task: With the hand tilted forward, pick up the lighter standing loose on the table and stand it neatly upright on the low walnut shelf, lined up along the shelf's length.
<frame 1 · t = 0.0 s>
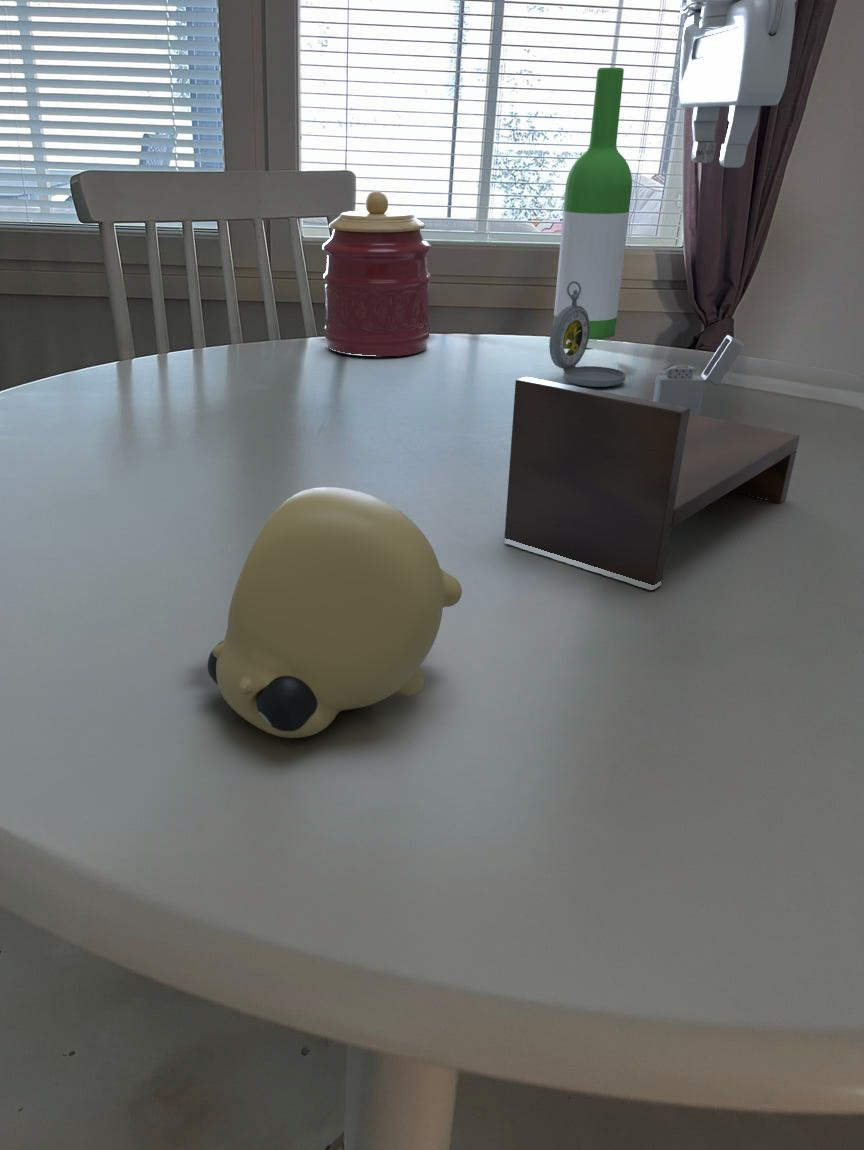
hand: (715, 165, 86), 21 cm above the table, tool pointing down, fingers open, 8 cm apart
toy pig: (332, 699, 46), on the table
lighter: (688, 425, 88), on the table
wine bottle: (582, 346, 119), on the table
pocket watch: (585, 382, 103), on the table
shelf: (656, 518, 67), on the table
kitchen canister: (377, 349, 117), on the table
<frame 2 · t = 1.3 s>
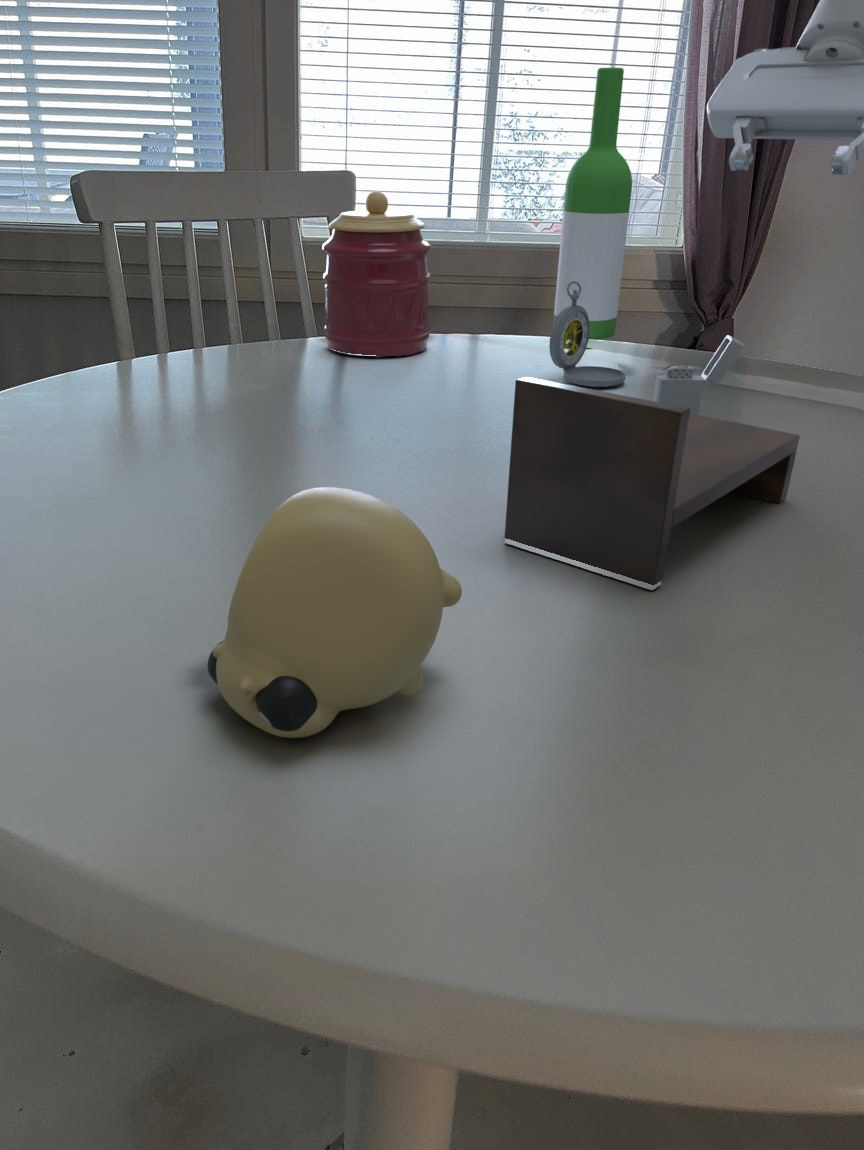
hand: (786, 167, 86), 21 cm above the table, tool tilted 45°, fingers open, 8 cm apart
nothing on the table moved.
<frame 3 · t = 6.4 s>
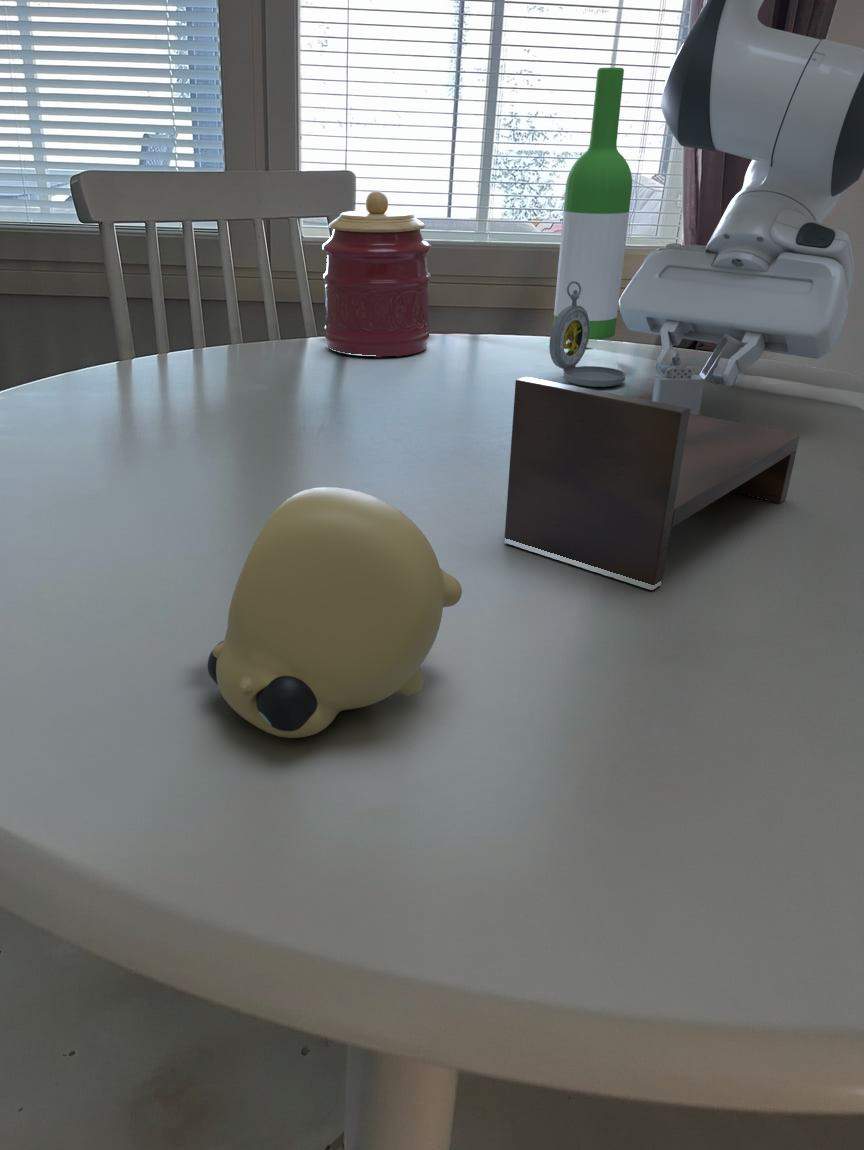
hand: (692, 376, 86), 5 cm above the table, tool tilted 45°, fingers closed on lighter, 4 cm apart
lighter: (688, 425, 88), on the table, touching gripper
everything else where it was.
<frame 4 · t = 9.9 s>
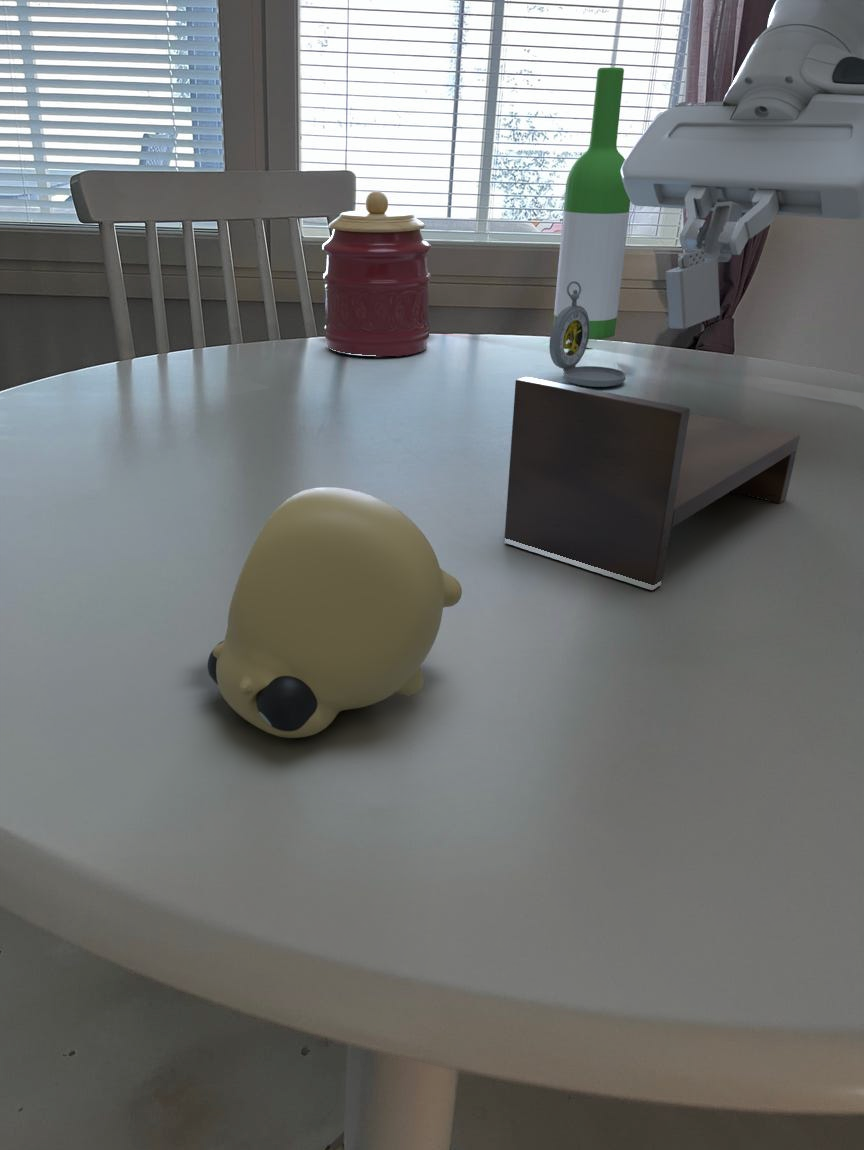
hand: (708, 247, 73), 16 cm above the table, tool tilted 45°, fingers closed on lighter
lighter: (708, 318, 75), point 11 cm above the table, touching gripper
everything else where it was.
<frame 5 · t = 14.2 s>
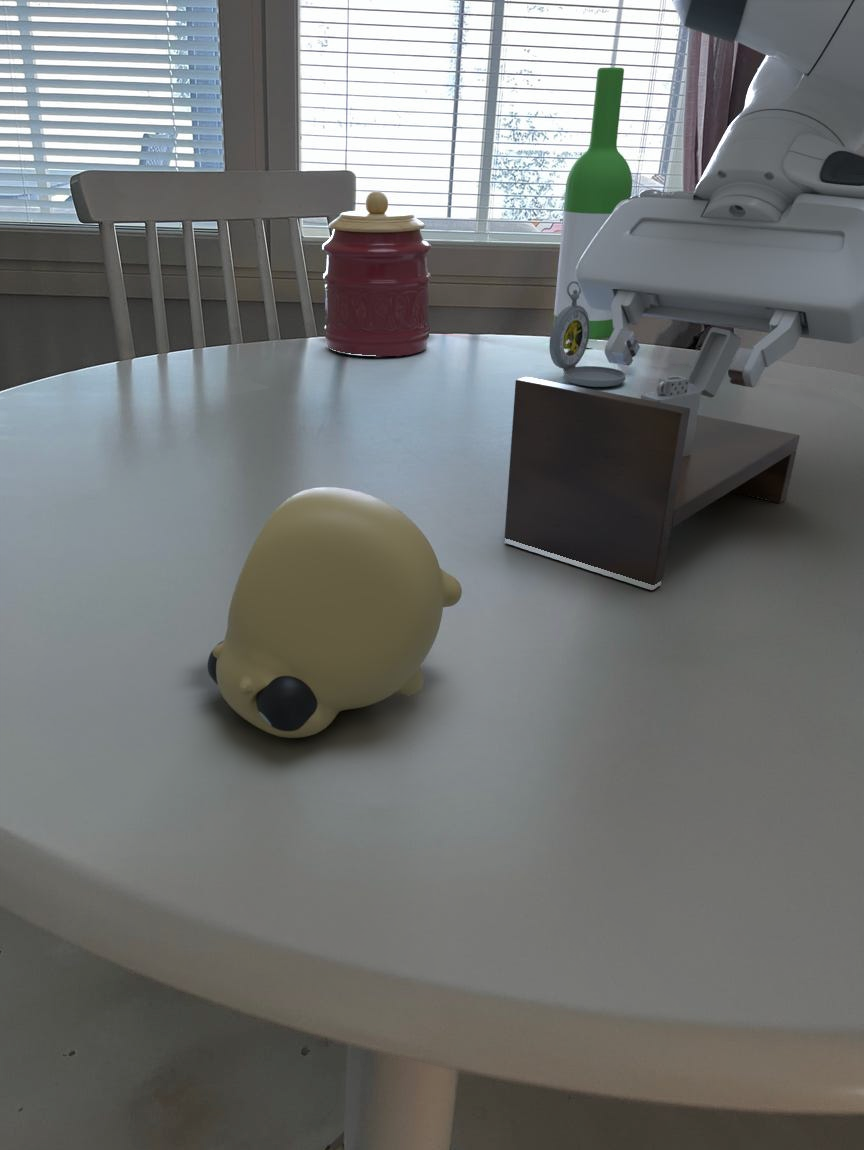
hand: (675, 369, 62), 11 cm above the table, tool tilted 45°, fingers open, 7 cm apart
lighter: (676, 455, 64), point 5 cm above the table, touching shelf
everything else where it was.
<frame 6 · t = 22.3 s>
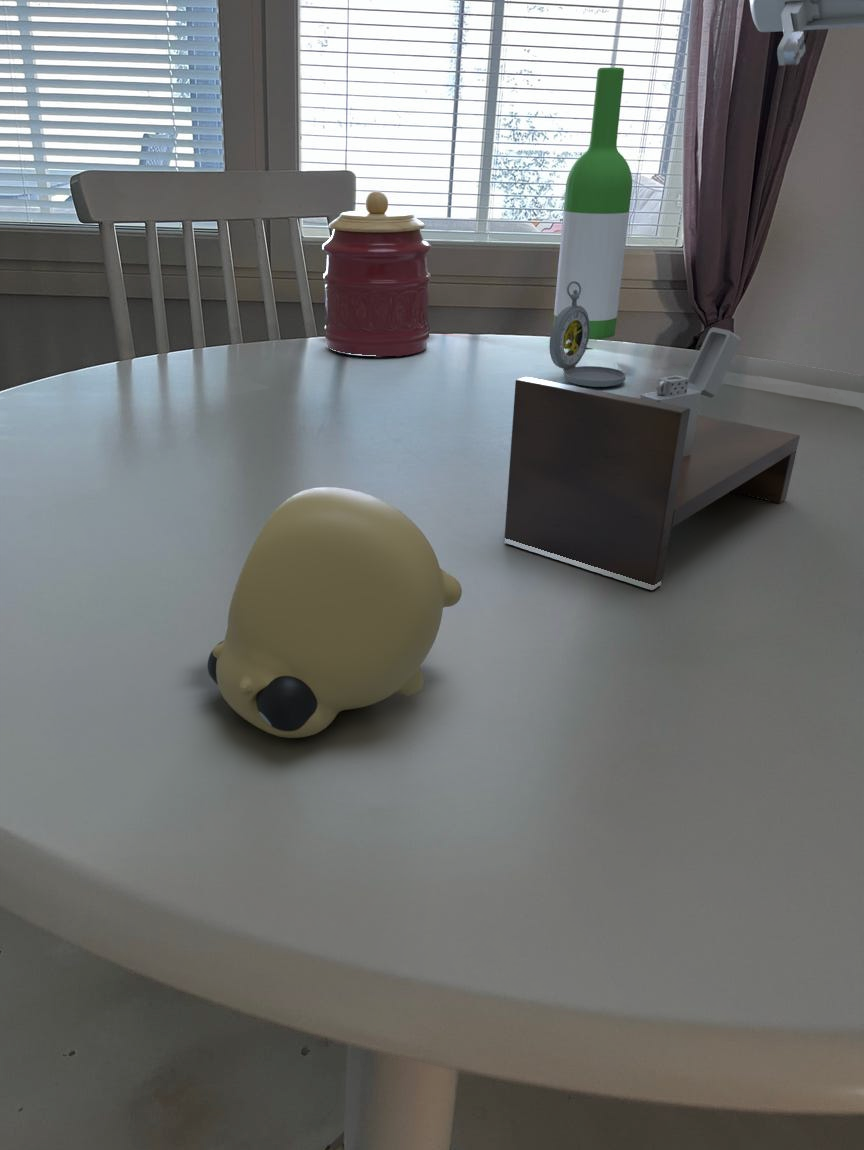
hand: (846, 56, 73), 29 cm above the table, tool tilted 45°, fingers open, 8 cm apart
nothing on the table moved.
at the end: lighter inside the target area on the shelf (0.7 cm from its centre), point 4.8 cm above the shelf's base; lighter tilted 0°; the gripper is holding nothing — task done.
